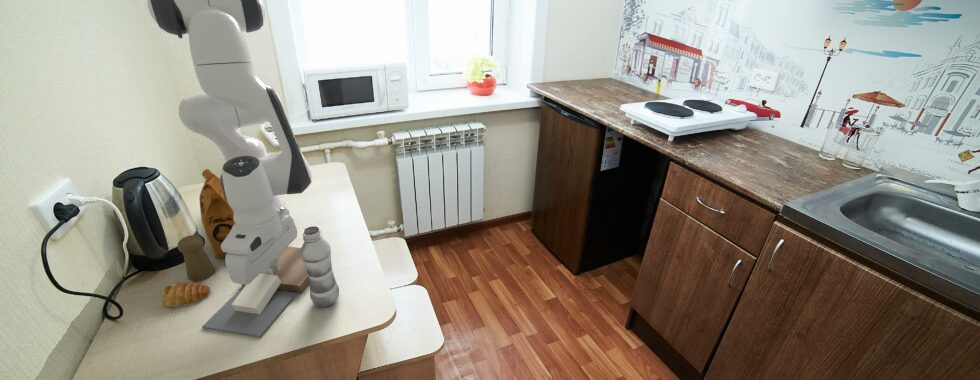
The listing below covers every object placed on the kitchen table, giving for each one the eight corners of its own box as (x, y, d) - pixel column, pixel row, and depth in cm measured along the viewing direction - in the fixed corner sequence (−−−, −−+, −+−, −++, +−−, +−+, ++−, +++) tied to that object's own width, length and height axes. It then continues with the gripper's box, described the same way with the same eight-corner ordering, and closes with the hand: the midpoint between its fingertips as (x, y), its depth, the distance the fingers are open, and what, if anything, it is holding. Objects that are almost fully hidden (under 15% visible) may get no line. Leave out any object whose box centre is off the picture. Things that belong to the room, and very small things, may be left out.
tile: (236, 310, 94) (231, 304, 93) (258, 279, 101) (255, 272, 100) (260, 314, 94) (255, 308, 92) (281, 282, 100) (277, 275, 99)
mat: (202, 328, 91) (201, 326, 90) (244, 287, 102) (244, 285, 102) (260, 337, 89) (260, 335, 88) (296, 294, 100) (296, 292, 100)
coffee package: (210, 263, 110) (183, 191, 100) (211, 239, 120) (187, 171, 109) (252, 253, 114) (230, 182, 104) (250, 231, 124) (230, 164, 114)
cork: (202, 283, 103) (188, 247, 98) (182, 279, 104) (166, 244, 99) (221, 268, 108) (208, 233, 103) (201, 265, 110) (188, 230, 104)
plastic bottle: (310, 313, 95) (293, 241, 86) (313, 293, 101) (296, 224, 91) (340, 308, 97) (326, 237, 87) (341, 289, 102) (327, 220, 93)
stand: (242, 285, 103) (239, 277, 102) (277, 252, 115) (275, 244, 114) (301, 293, 101) (299, 285, 99) (330, 258, 113) (329, 251, 112)
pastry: (214, 285, 103) (210, 273, 101) (207, 304, 97) (202, 292, 96) (171, 292, 101) (165, 280, 99) (160, 312, 95) (154, 299, 93)
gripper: (274, 202, 104) (286, 247, 111) (214, 250, 86) (232, 300, 93) (297, 205, 103) (308, 250, 110) (241, 253, 86) (258, 304, 92)
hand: (273, 273), depth 101 cm, fingers closed
